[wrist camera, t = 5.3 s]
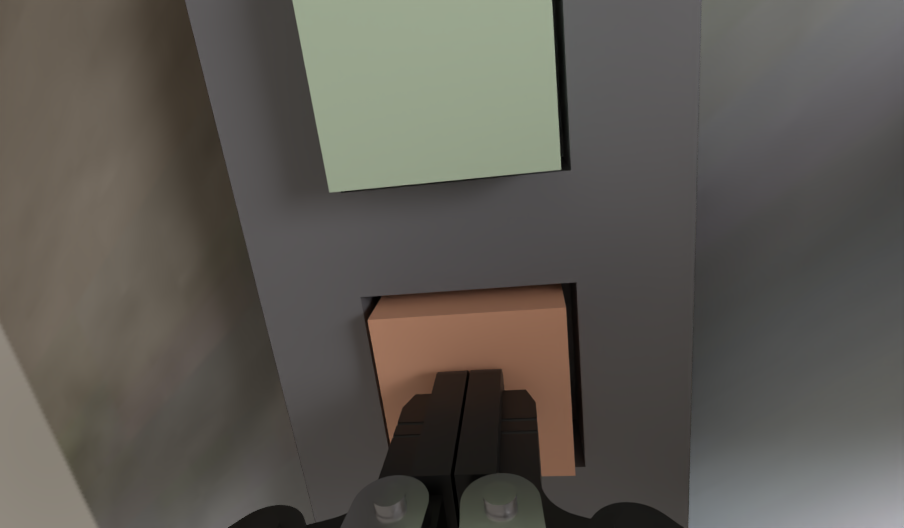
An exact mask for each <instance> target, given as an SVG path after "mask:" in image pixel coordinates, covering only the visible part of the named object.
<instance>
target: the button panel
mask: <svg viewBox="0 0 904 528" xmlns="http://www.w3.org/2000/svg"><path fill="white" fill-rule="evenodd" d="M701 2H702V0H552V9H553V27H554V46H555V64H556V82H557V101H558V119H559V138H560V156H561V170H553V171H543V172H533V173H523V174H513V175H503V176H493V177H482V178H472V179H462V180H452V181H442V182H432V183H422V184H411V185H401V186H391V187H381V188H371V189H361V190H351V191H340V192H330V193H329V188H328V183H327V177H326V172H325V167H324V162H323V157H322V152H321V146H320V141H319V136H318V131H317V126H316V120H315V115H314V110H313V105H312V100H311V95H310V89H309V84H308V79H307V74H306V69H305V64H304V58H303V53H302V48H301V43H300V38H299V32H298V27H297V22H296V17H295V12H294V7H293V1H292V0H185V3H186V7H187V11H188V15H189V19H190V23H191V27H192V31H193V35H194V39H195V43H196V47H197V51H198V54H199V58H200V62H201V66H202V70H203V74H204V78H205V82H206V86H207V90H208V94H209V98H210V102H211V106H212V110H213V114H214V118H215V122H216V126H217V130H218V134H219V138H220V142H221V146H222V150H223V154H224V158H225V162H226V166H227V170H228V174H229V178H230V182H231V186H232V190H233V194H234V198H235V202H236V206H237V210H238V214H239V218H240V222H241V226H242V230H243V234H244V238H245V242H246V246H247V250H248V254H249V258H250V262H251V266H252V270H253V274H254V278H255V282H256V286H257V290H258V294H259V298H260V302H261V306H262V310H263V314H264V318H265V322H266V326H267V330H268V334H269V338H270V342H271V346H272V350H273V354H274V358H275V362H276V366H277V370H278V374H279V378H280V382H281V386H282V390H283V394H284V398H285V402H286V406H287V410H288V414H289V418H290V422H291V426H292V430H293V434H294V438H295V442H296V446H297V450H298V454H299V458H300V462H301V466H302V470H303V474H304V478H305V482H306V486H307V490H308V494H309V498H310V502H311V506H312V510H313V514H314V518H315V522H316V523H317V522H320V521H324V520H328V519H331V518H335V517H338V516H341V515H343V514H346V513H348V511H349V508H350V506H351V504H352V502H353V500H354V499H355V497H356V495H357V494H358V493H359V492H360V491H361V490H362V489H363V488H364V487H365V486H367V485H368V484H370V483H372V482H374V481H375V480H378V478H379V475H380V472H381V469H382V467H383V464H384V461H385V458H386V455H387V452H388V449H389V446H390V439H389V434H388V428H387V423H386V418H385V412H384V407H383V401H382V396H381V390H380V385H379V380H378V374H377V369H376V363H375V358H374V352H373V347H372V342H371V336H370V331H369V325H368V318H369V317H370V315H371V313H372V312H373V310H374V308H375V307H376V305H377V303H378V302H379V300H380V298H381V297H382V296H386V295H400V294H415V293H429V292H444V291H458V290H473V289H487V288H501V287H516V286H530V285H545V284H559V283H561V286H562V291H563V295H564V300H565V305H566V315H567V333H568V351H569V369H570V386H571V404H572V422H573V440H574V458H575V476H541V477H542V489H543V491H544V493H545V495H546V496H547V497H548V499H549V500H550V501H551V502H552V503H554V504H555V505H556V506H558V507H559V508H561V509H563V510H565V511H567V512H569V513H572V514H575V515H578V516H582V517H586V518H590V519H591V518H592V517H593V515H594V514H595V513H596V512H597V511H598V510H600V509H601V508H603V507H605V506H607V505H610V504H613V503H619V502H635V503H640V504H644V505H647V506H650V507H653V508H655V509H657V510H659V511H660V512H662V513H664V514H665V515H667V516H668V517H669V518H671V519H672V520H674V521H675V522H677V523H678V524H679V525H681V526H682V527H684V528H688V514H689V474H690V435H691V396H692V356H693V317H694V278H695V238H696V199H697V160H698V120H699V81H700V42H701Z"/></svg>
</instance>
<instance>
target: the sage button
mask: <svg viewBox="0 0 904 528" xmlns="http://www.w3.org/2000/svg"><path fill="white" fill-rule="evenodd" d="M292 1H293V7H294V12H295V17H296V22H297V27H298V32H299V38H300V43H301V48H302V53H303V58H304V64H305V69H306V74H307V79H308V84H309V89H310V95H311V100H312V105H313V110H314V115H315V120H316V126H317V131H318V136H319V141H320V146H321V152H322V157H323V162H324V167H325V172H326V177H327V183H328V188H329V193H330V192H340V191H351V190H361V189H371V188H381V187H391V186H401V185H411V184H422V183H432V182H442V181H452V180H462V179H472V178H482V177H493V176H503V175H513V174H523V173H533V172H543V171H553V170H561V156H560V138H559V119H558V101H557V82H556V64H555V46H554V27H553V9H552V0H292Z"/></svg>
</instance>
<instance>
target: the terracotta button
mask: <svg viewBox="0 0 904 528" xmlns="http://www.w3.org/2000/svg"><path fill="white" fill-rule="evenodd" d="M368 325H369V331H370V336H371V342H372V347H373V352H374V358H375V363H376V369H377V374H378V380H379V385H380V390H381V396H382V401H383V407H384V412H385V418H386V423H387V428H388V434H389V439H390V443H391V440H392V438H393V434H394V431H395V428H396V425H398V423H397V422H398V419H399V416H400V414H401V411H402V408H403V407H404V406H405V405H406V404H407V403H408V402H409V400H410V399H411V398H412V397H413V396H414V395H415V394H431V393H432V389H433V385H434V381H435V378H436V374H437V372H445V371H466V370H468V371H469V373H470V371H471V370H484V369H502V372H503V380H504V390H524V389H526V390H527V392H528V393H529V394H530V395H531V397H532V398H533V399H534V400H535V402H536V410H537V423H538V435H539V448H540V461H541V476H575V458H574V440H573V422H572V404H571V386H570V369H569V351H568V333H567V315H566V305H565V300H564V295H563V291H562V286H561V283H559V284H545V285H530V286H516V287H501V288H487V289H473V290H458V291H444V292H429V293H415V294H400V295H386V296H382V297H381V298H380V300H379V302H378V303H377V305H376V307H375V308H374V310H373V312H372V313H371V315H370V317H369V318H368Z"/></svg>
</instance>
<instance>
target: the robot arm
mask: <svg viewBox="0 0 904 528" xmlns="http://www.w3.org/2000/svg"><path fill="white" fill-rule="evenodd" d="M397 423H398V425H396V428H395V431H394V434H393V438H392V440H391V443H390V446H389V449H388V452H387V455H386V458H385V461H384V464H383V467H382V469H381V472H380V475H379V478H378V480H375V481H374V482H372V483H370V484H368V485H367V486H365V487H364V488H363V489H362V490H361V491H360V492H359V493H358V494H357V495H356V497H355V499H354V500H353V502H352V504H351V506H350V508H349V511H348V513H346V514H343V515H341V516H338V517H335V518H331V519H328V520H324V521H320V522H317V523H313V524H309V525H306V523H305V519H304V517H303V515H302V513H301V512H300V511H299V510H297V509H296V508H293V507H291V506H286V505H275V506H269V507H265V508H262V509H259V510H257V511H255V512H252V513H251V514H249V515H247V516H245V517H244V518H242V519H241V520H239V521H238V522H236V523H234V524H233V525H231V526H230V527H228V528H684V527H682V526H681V525H679V524H678V523H677V522H675V521H674V520H672V519H671V518H669V517H668V516H667V515H665V514H664V513H662V512H660V511H659V510H657V509H655V508H653V507H650V506H647V505H644V504H640V503H635V502H619V503H613V504H610V505H607V506H605V507H603V508H601V509H600V510H598V511H597V512H596V513H595V514H594V515H593V517H592V518H591V519H590V518H586V517H582V516H578V515H575V514H572V513H569V512H567V511H565V510H563V509H561V508H559V507H558V506H556V505H555V504H554V503H552V502H551V501H550V500H549V499H548V497H547V496H546V495H545V493H544V491H543V489H542V477H541V461H540V448H539V435H538V423H537V410H536V402H535V400H534V399H533V398H532V397H531V395H530V394H529V393H528V392H527V390H526V389H524V390H504V380H503V372H502V369H484V370H471V371H470V373H469V371H468V370H466V371H445V372H437V374H436V378H435V381H434V385H433V389H432V393H431V394H415V395H414V396H413V397H412V398H411V399H410V400H409V402H408V403H407V404H406V405H405V406H404V407H403V408H402V411H401V414H400V416H399V419H398V422H397Z"/></svg>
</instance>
